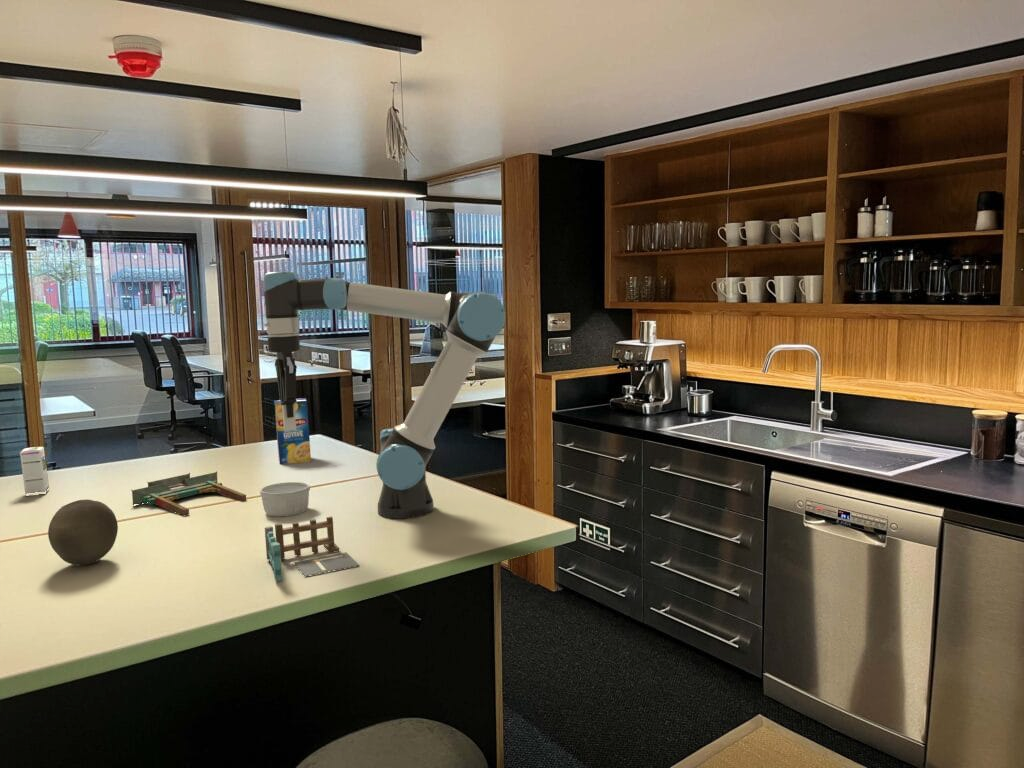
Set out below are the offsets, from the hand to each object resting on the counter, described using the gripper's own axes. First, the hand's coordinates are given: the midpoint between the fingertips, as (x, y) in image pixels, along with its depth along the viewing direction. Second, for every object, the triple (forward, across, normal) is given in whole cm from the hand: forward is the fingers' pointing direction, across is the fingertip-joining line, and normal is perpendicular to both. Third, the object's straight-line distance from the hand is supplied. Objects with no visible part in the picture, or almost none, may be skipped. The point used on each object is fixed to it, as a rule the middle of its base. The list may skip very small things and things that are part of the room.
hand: (290, 429), depth 196 cm
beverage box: (+27, -86, +19) cm, 92 cm away
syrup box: (+27, -88, -61) cm, 110 cm away
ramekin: (+27, -21, +2) cm, 34 cm away
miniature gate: (+27, -51, -20) cm, 61 cm away
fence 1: (+26, +25, -11) cm, 37 cm away
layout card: (+26, +28, 0) cm, 38 cm away
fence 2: (+26, +18, -2) cm, 32 cm away
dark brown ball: (+27, -3, -47) cm, 54 cm away
